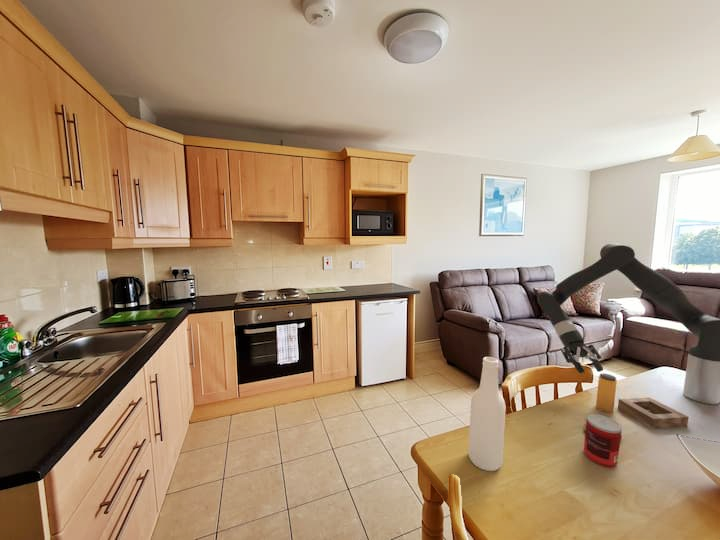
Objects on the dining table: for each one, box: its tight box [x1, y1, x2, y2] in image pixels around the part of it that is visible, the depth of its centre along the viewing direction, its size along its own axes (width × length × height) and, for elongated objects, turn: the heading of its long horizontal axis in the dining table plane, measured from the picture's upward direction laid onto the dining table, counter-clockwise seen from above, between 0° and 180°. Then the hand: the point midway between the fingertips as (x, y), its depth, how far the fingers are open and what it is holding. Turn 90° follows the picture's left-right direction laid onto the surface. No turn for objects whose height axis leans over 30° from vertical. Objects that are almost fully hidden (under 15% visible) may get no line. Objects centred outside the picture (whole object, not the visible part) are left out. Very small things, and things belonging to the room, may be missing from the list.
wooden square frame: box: [617, 397, 689, 430], centre depth 103 cm, size 13×12×4 cm
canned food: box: [583, 413, 622, 468], centre depth 83 cm, size 8×8×11 cm
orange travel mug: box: [595, 373, 618, 414], centre depth 107 cm, size 5×5×13 cm
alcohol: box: [467, 356, 507, 472], centre depth 81 cm, size 9×9×30 cm
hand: (591, 371), depth 113 cm, fingers open, 8 cm apart
